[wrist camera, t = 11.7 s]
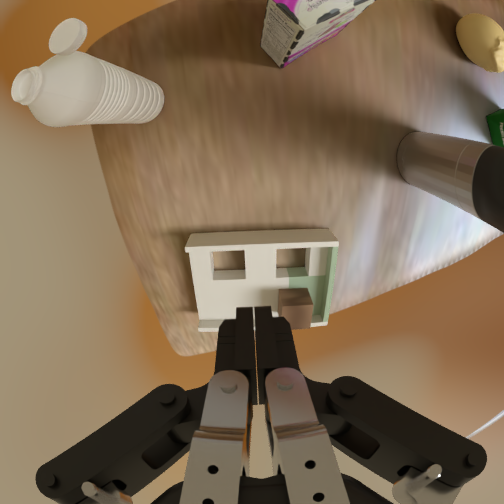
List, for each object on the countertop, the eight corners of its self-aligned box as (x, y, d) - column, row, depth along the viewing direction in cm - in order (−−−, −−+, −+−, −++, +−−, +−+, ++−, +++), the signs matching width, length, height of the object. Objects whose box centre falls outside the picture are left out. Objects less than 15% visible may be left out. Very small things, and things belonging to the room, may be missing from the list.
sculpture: (473, 81, 29) (513, 81, 19) (439, 26, 25) (477, 15, 15) (493, 62, 26) (529, 61, 16) (463, 13, 22) (497, 4, 12)
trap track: (328, 228, 41) (338, 241, 37) (320, 307, 48) (327, 325, 43) (191, 233, 41) (184, 247, 36) (202, 313, 47) (198, 331, 43)
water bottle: (137, 132, 34) (10, 153, 11) (116, 100, 31) (-15, 92, 9) (186, 96, 32) (98, 51, 9) (163, 63, 30) (64, -3, 7)
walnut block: (307, 287, 42) (313, 304, 38) (304, 310, 44) (310, 328, 40) (278, 288, 42) (282, 306, 38) (277, 311, 44) (280, 330, 40)
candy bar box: (315, 11, 26) (354, -42, 12) (338, 34, 28) (389, -7, 13) (256, 45, 29) (265, -6, 14) (280, 70, 31) (306, 32, 16)
